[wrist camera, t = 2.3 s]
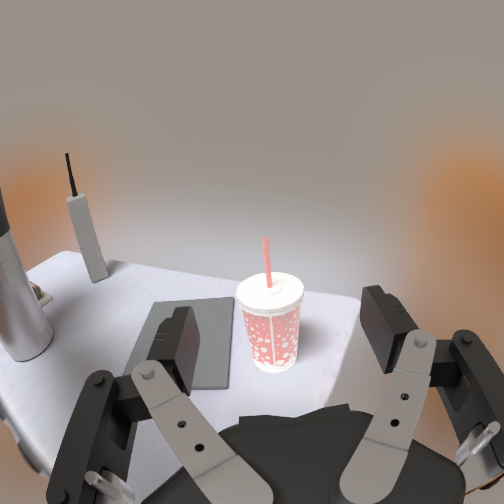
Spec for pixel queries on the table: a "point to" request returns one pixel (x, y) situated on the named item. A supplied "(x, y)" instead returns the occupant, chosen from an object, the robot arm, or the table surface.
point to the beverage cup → (272, 316)
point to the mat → (211, 339)
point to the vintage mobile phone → (85, 232)
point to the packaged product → (41, 295)
